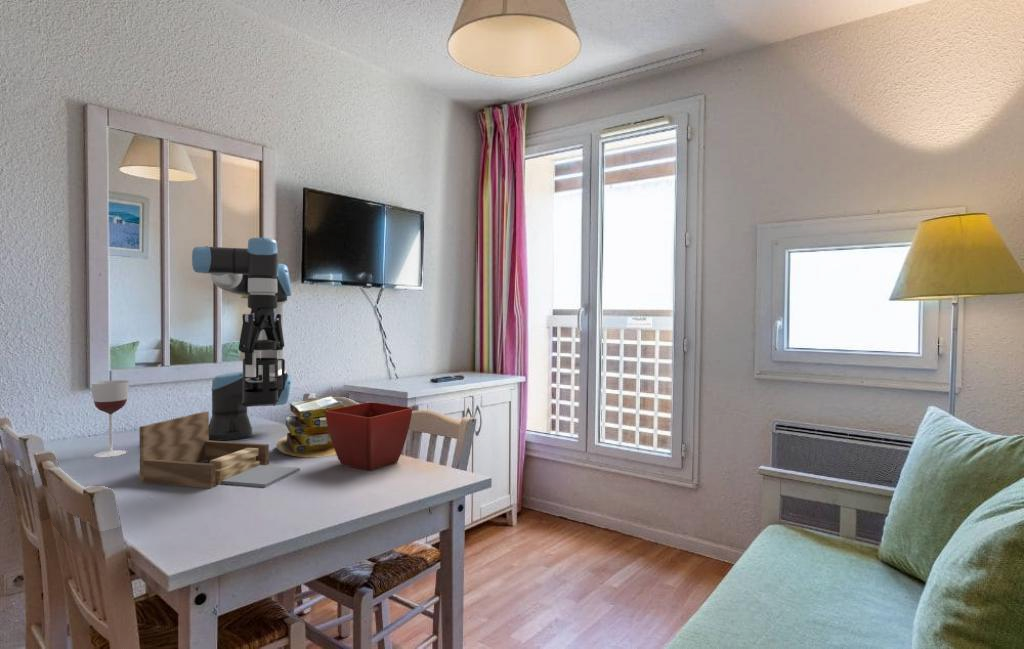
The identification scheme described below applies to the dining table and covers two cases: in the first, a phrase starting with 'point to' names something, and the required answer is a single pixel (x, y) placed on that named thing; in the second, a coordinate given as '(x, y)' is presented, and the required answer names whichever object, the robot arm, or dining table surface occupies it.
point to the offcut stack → (234, 464)
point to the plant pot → (368, 433)
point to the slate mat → (261, 476)
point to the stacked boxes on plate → (309, 429)
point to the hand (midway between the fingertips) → (262, 374)
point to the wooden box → (185, 452)
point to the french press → (263, 394)
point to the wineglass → (110, 405)
